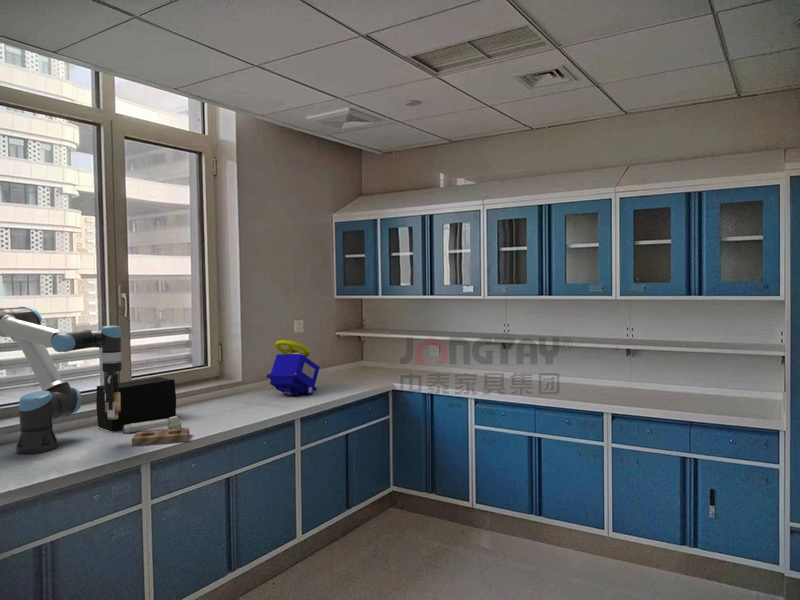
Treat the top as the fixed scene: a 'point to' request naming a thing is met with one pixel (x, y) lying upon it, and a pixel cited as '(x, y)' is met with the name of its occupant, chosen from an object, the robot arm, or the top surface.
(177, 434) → the walnut board
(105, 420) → the uninterruptible power supply
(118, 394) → the oak peg
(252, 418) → the top surface
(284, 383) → the control box
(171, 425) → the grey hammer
